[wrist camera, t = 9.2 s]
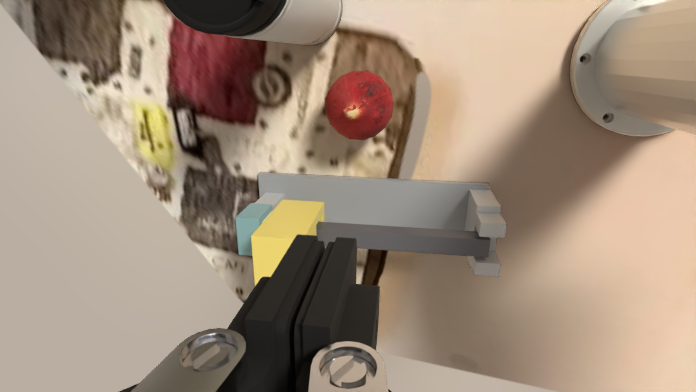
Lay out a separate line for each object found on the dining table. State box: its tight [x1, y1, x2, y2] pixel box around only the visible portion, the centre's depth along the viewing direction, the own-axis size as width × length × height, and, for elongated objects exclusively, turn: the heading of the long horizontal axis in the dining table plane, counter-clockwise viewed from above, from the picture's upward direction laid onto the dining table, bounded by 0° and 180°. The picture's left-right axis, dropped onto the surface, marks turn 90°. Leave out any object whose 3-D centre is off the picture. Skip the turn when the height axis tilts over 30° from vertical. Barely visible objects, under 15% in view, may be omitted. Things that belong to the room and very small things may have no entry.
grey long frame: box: [236, 172, 507, 277], centre depth 38 cm, size 23×7×8 cm, turn 89°
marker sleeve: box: [251, 200, 325, 286], centre depth 35 cm, size 4×4×8 cm
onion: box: [325, 71, 394, 140], centre depth 34 cm, size 6×6×8 cm
